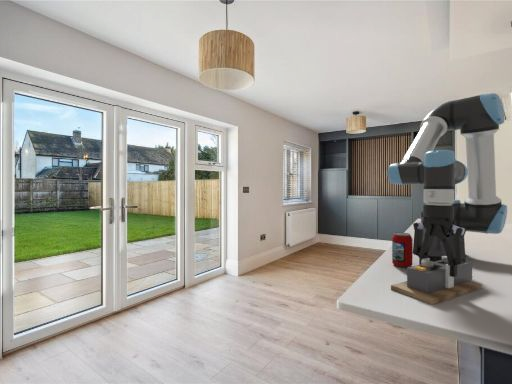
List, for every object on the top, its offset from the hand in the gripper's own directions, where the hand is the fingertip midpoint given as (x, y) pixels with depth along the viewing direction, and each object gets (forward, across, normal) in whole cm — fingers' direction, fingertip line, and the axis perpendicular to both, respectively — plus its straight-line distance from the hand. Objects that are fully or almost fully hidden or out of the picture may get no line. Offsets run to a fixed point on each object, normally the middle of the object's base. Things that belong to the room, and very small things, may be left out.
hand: (437, 283), depth 82 cm
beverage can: (+2, -20, +13) cm, 24 cm away
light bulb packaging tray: (0, 0, +2) cm, 2 cm away
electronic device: (+1, -14, +22) cm, 26 cm away
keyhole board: (+2, 0, 0) cm, 2 cm away
